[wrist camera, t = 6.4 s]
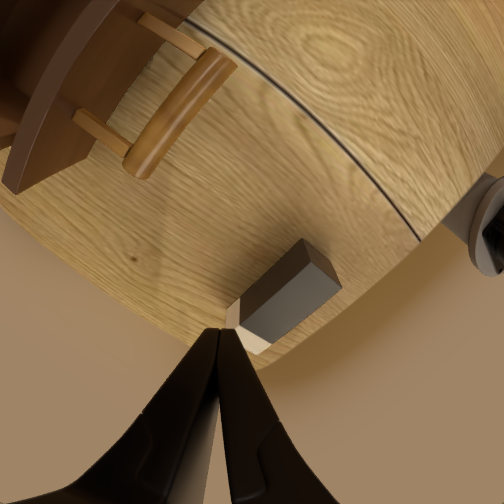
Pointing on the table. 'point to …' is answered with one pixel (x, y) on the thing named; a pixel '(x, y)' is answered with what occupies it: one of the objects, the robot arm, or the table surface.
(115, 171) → the table surface
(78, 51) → the drawer
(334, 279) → the black rubber eraser
